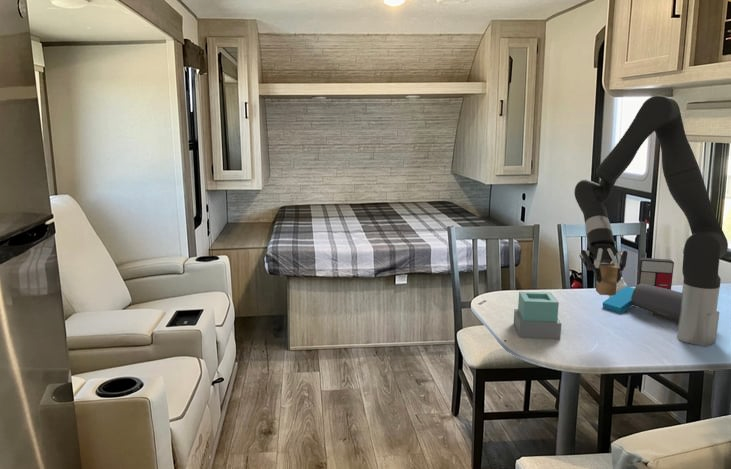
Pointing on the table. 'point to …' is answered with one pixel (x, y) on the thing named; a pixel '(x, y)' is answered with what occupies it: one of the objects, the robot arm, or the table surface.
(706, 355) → the table surface
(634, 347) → the table surface
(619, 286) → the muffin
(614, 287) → the walnut brick
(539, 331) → the tower base
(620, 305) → the blue rectangular block
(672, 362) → the table surface
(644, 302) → the bluetooth speaker
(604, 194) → the robot arm
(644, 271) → the color panel box
